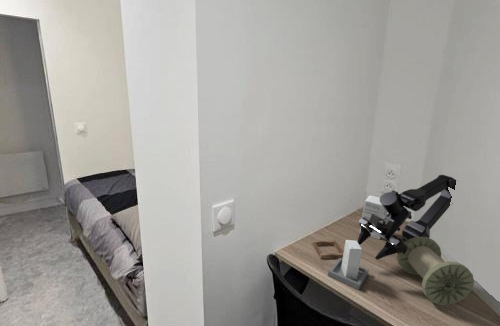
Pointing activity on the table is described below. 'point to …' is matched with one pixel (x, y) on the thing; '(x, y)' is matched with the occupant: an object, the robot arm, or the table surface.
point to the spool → (436, 271)
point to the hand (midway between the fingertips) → (366, 251)
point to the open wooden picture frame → (331, 255)
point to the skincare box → (351, 259)
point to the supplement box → (373, 211)
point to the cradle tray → (339, 275)
